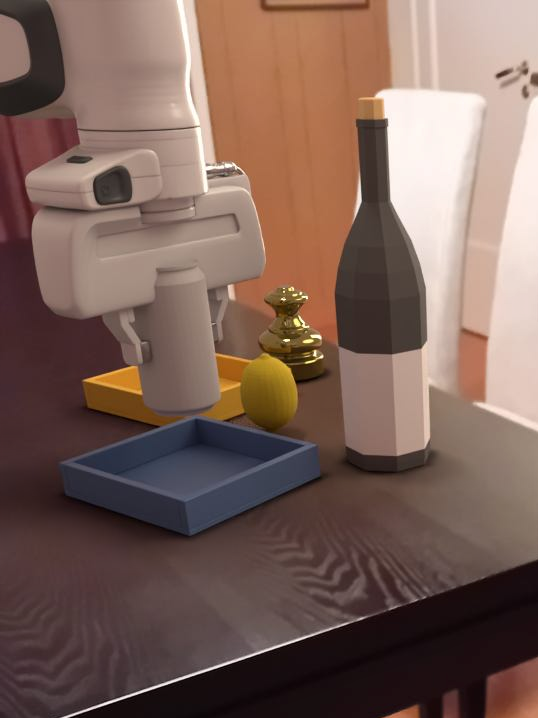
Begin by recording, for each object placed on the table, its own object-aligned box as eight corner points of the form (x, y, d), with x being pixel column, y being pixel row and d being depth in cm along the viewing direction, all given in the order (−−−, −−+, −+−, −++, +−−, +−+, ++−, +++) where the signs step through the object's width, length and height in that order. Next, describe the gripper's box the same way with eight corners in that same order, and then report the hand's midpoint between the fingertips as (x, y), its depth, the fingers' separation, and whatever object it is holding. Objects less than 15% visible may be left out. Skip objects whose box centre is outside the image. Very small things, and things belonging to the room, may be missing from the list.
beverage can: (129, 413, 85) (101, 263, 79) (179, 393, 90) (157, 250, 84) (189, 424, 82) (165, 270, 76) (237, 402, 87) (219, 256, 81)
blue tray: (65, 495, 88) (58, 462, 86) (200, 444, 99) (196, 414, 97) (190, 536, 80) (184, 501, 79) (320, 476, 91) (318, 444, 90)
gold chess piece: (288, 362, 124) (280, 277, 119) (337, 370, 121) (330, 283, 116) (248, 377, 119) (237, 289, 114) (298, 386, 115) (289, 295, 110)
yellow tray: (87, 407, 109) (81, 380, 107) (196, 373, 120) (192, 348, 119) (187, 433, 101) (182, 404, 100) (293, 395, 113) (291, 368, 111)
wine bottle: (401, 478, 91) (384, 101, 75) (329, 463, 94) (298, 99, 79) (447, 451, 97) (440, 97, 81) (377, 437, 100) (358, 95, 85)
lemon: (312, 433, 101) (304, 353, 97) (267, 446, 98) (257, 364, 94) (279, 421, 105) (270, 343, 101) (234, 434, 101) (223, 354, 97)
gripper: (218, 156, 86) (238, 323, 93) (3, 180, 71) (47, 376, 78) (272, 160, 82) (289, 332, 90) (60, 186, 68) (100, 389, 75)
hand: (175, 353), depth 84 cm, fingers closed on beverage can, 6 cm apart
